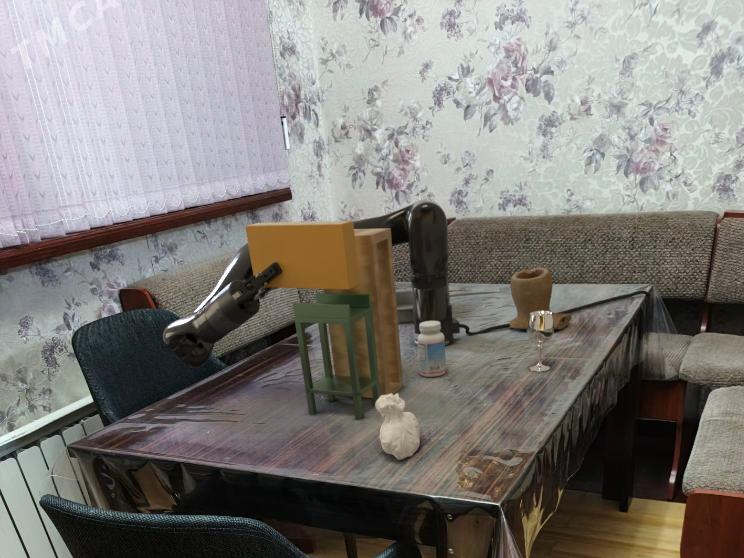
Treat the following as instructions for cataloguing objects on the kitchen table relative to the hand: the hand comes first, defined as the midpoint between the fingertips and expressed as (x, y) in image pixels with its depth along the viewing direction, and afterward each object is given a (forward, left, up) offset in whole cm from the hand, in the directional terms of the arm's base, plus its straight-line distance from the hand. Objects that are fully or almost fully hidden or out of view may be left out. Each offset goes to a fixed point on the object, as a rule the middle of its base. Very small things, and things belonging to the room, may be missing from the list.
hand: (285, 264), depth 134 cm
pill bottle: (-29, -10, -28) cm, 42 cm away
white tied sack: (-15, +30, -28) cm, 44 cm away
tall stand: (-14, -4, -28) cm, 32 cm away
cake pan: (-33, -68, -28) cm, 81 cm away
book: (-3, +2, -4) cm, 6 cm away
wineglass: (-52, -4, -28) cm, 59 cm away
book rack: (-8, +5, -28) cm, 30 cm away
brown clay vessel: (-62, -35, -28) cm, 77 cm away
